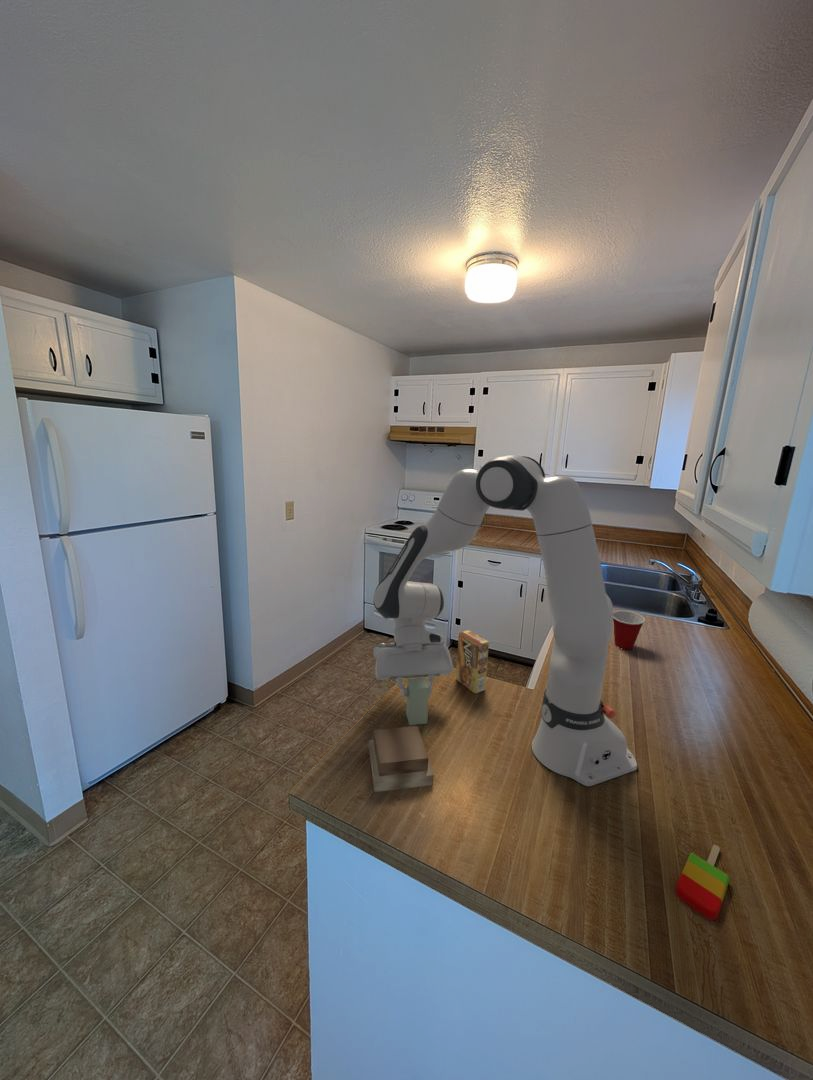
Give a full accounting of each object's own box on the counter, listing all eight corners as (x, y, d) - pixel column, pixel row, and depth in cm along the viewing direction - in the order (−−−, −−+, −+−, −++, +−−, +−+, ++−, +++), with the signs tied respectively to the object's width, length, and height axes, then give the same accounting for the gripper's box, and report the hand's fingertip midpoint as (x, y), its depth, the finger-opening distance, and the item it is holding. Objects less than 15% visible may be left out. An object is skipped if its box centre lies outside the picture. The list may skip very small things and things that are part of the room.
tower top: (416, 737, 93) (417, 726, 93) (427, 770, 84) (428, 758, 83) (373, 741, 91) (373, 730, 91) (379, 776, 82) (379, 763, 81)
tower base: (419, 746, 95) (420, 735, 94) (432, 787, 83) (433, 775, 83) (368, 751, 92) (368, 740, 92) (374, 794, 81) (374, 781, 80)
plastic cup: (600, 643, 150) (605, 613, 148) (617, 637, 156) (622, 608, 153) (629, 656, 141) (635, 624, 139) (646, 649, 147) (651, 618, 145)
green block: (422, 712, 106) (424, 677, 104) (427, 723, 102) (429, 687, 100) (405, 713, 105) (407, 678, 103) (409, 725, 101) (411, 689, 99)
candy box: (485, 690, 117) (490, 641, 114) (474, 694, 115) (479, 644, 112) (465, 675, 124) (469, 629, 121) (454, 679, 122) (458, 632, 119)
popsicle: (672, 896, 64) (674, 887, 64) (697, 839, 74) (699, 830, 74) (714, 926, 60) (717, 917, 60) (735, 862, 70) (737, 853, 70)
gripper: (373, 639, 105) (377, 695, 98) (449, 635, 109) (458, 689, 102) (371, 647, 110) (374, 701, 103) (444, 643, 114) (452, 695, 107)
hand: (417, 695), depth 103 cm, fingers closed on green block, 4 cm apart
